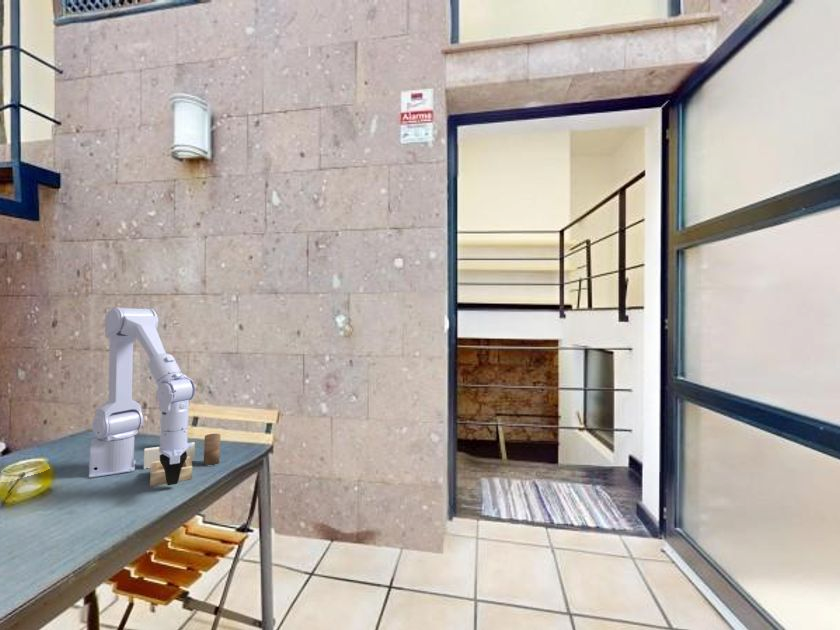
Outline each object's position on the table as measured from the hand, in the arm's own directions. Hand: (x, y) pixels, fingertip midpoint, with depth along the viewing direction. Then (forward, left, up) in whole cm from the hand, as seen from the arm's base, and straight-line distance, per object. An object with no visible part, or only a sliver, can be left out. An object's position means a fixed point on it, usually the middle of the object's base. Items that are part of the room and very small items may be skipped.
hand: (172, 483), depth 97 cm
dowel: (+10, +13, -1) cm, 16 cm away
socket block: (0, +8, -1) cm, 8 cm away
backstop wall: (0, +18, -1) cm, 18 cm away
